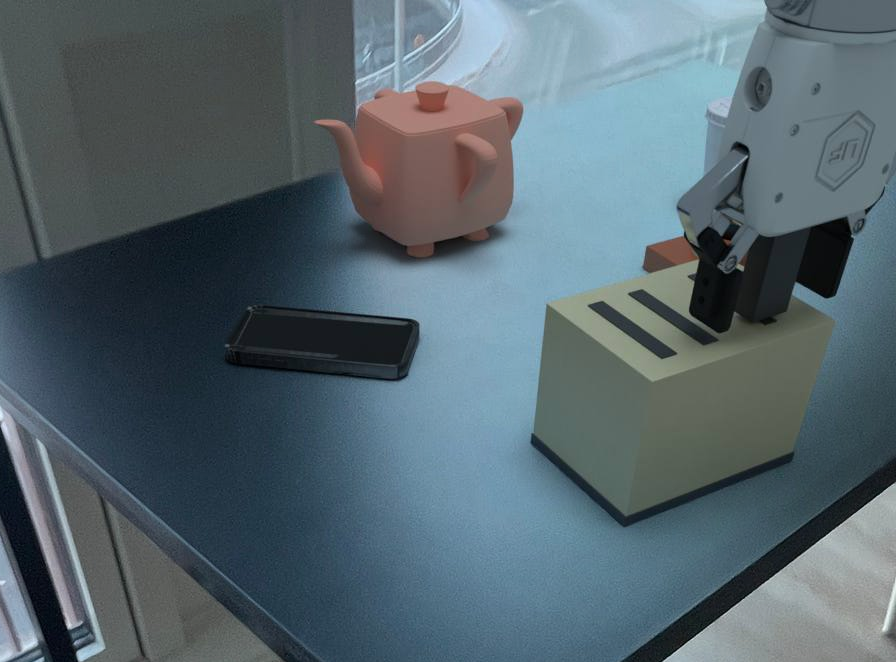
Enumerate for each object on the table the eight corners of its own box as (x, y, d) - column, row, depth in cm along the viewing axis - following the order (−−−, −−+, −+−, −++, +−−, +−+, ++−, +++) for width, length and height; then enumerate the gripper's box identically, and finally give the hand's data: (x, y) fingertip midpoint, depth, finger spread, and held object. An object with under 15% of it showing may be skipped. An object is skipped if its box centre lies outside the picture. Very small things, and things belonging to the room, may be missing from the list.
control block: (740, 240, 98) (750, 199, 95) (807, 278, 92) (820, 236, 89) (642, 268, 93) (649, 226, 91) (706, 310, 88) (716, 266, 85)
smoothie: (734, 228, 99) (770, 73, 89) (675, 212, 102) (704, 58, 92) (761, 207, 103) (799, 55, 93) (704, 191, 106) (734, 41, 96)
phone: (249, 303, 86) (421, 319, 84) (250, 315, 87) (421, 331, 85) (220, 350, 81) (404, 368, 79) (222, 363, 81) (404, 380, 80)
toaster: (690, 387, 79) (721, 250, 71) (792, 461, 73) (838, 318, 65) (530, 442, 74) (544, 301, 66) (623, 527, 67) (652, 381, 59)
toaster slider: (767, 300, 66) (792, 208, 62) (787, 312, 65) (813, 219, 61) (732, 311, 65) (755, 218, 61) (751, 323, 64) (776, 230, 59)
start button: (734, 223, 92) (739, 204, 91) (762, 238, 90) (767, 219, 88) (704, 231, 91) (708, 212, 89) (731, 247, 88) (736, 227, 87)
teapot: (517, 204, 103) (528, 62, 94) (499, 275, 92) (509, 122, 83) (358, 193, 105) (353, 52, 96) (322, 260, 94) (312, 109, 85)
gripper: (771, 36, 47) (695, 368, 59) (1019, -13, 53) (903, 298, 65) (667, -3, 51) (617, 313, 64) (906, -44, 57) (818, 253, 70)
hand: (762, 305), depth 65 cm, fingers open, 8 cm apart
